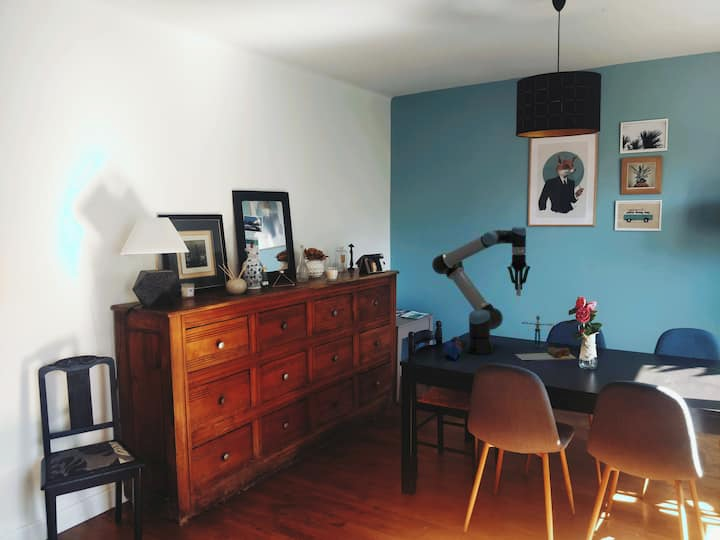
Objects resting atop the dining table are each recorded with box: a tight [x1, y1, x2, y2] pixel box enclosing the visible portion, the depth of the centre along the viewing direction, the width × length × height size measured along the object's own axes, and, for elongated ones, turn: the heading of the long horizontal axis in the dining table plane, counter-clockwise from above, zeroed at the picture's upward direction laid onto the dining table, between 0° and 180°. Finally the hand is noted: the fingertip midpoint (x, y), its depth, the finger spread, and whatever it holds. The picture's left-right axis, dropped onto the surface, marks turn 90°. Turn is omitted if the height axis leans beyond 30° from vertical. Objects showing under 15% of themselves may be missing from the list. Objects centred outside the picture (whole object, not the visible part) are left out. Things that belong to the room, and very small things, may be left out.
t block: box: [547, 346, 571, 358], centre depth 311 cm, size 10×10×4 cm
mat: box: [514, 352, 577, 361], centre depth 311 cm, size 30×12×1 cm, turn 93°
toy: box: [443, 336, 463, 361], centre depth 314 cm, size 11×10×15 cm
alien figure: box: [521, 315, 555, 349], centre depth 331 cm, size 20×5×19 cm, turn 62°
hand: (518, 295), depth 321 cm, fingers closed
